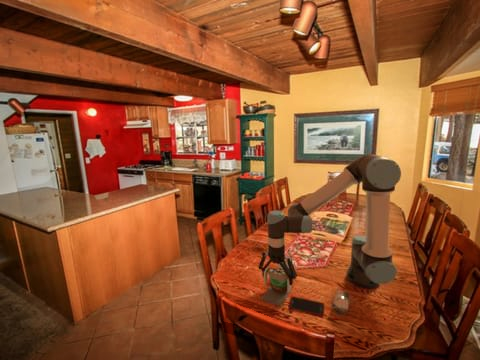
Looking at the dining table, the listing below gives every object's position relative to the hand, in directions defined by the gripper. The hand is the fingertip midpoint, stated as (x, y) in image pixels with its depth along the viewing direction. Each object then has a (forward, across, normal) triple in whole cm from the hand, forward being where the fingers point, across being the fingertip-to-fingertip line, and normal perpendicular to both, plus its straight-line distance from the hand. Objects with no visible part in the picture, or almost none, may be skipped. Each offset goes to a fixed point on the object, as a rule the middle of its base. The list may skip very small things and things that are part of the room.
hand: (277, 286), depth 113 cm
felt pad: (+4, 0, 0) cm, 4 cm away
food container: (+2, -1, 0) cm, 2 cm away
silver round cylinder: (+4, -28, -4) cm, 28 cm away
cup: (+4, +1, -15) cm, 16 cm away
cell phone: (+4, -15, +2) cm, 15 cm away
